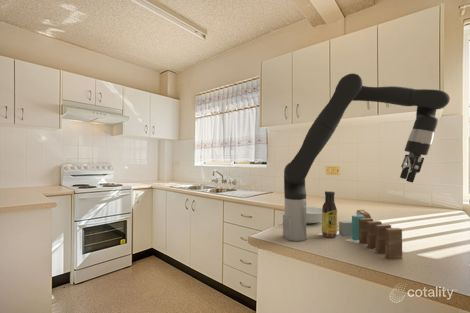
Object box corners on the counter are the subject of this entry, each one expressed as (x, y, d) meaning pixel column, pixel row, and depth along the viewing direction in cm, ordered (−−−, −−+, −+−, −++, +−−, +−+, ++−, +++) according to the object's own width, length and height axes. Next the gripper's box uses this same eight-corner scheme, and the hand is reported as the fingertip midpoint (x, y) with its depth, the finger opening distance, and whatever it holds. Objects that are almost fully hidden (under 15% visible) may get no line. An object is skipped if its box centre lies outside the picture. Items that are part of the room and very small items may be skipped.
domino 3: (381, 248, 87) (381, 222, 87) (369, 248, 87) (369, 222, 87) (378, 246, 89) (378, 220, 89) (367, 247, 88) (366, 221, 88)
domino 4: (391, 253, 83) (391, 225, 83) (379, 253, 82) (378, 225, 82) (388, 251, 84) (387, 224, 85) (375, 251, 84) (375, 224, 84)
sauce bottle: (330, 239, 97) (329, 192, 98) (318, 235, 103) (318, 191, 103) (340, 236, 100) (340, 191, 101) (328, 232, 106) (328, 190, 106)
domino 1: (365, 239, 96) (365, 216, 97) (354, 240, 96) (354, 216, 96) (362, 238, 98) (362, 215, 98) (352, 239, 97) (351, 215, 98)
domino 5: (402, 258, 78) (401, 229, 78) (389, 259, 78) (388, 229, 78) (398, 256, 80) (398, 227, 80) (385, 257, 79) (385, 228, 79)
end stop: (361, 235, 102) (361, 222, 102) (342, 236, 101) (342, 222, 101) (357, 233, 105) (357, 220, 105) (339, 234, 104) (338, 221, 104)
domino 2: (373, 243, 92) (372, 219, 92) (361, 244, 91) (361, 219, 91) (370, 242, 93) (370, 218, 94) (359, 242, 93) (358, 218, 93)
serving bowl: (331, 227, 114) (331, 214, 114) (288, 226, 117) (288, 212, 117) (322, 217, 135) (322, 205, 135) (286, 216, 138) (285, 204, 138)
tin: (373, 233, 106) (373, 214, 106) (365, 232, 106) (365, 214, 106) (362, 224, 120) (361, 208, 121) (355, 223, 121) (355, 208, 121)
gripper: (402, 139, 99) (391, 175, 102) (414, 139, 86) (400, 180, 89) (423, 143, 97) (410, 180, 99) (438, 144, 83) (423, 186, 86)
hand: (405, 180), depth 94 cm, fingers open, 8 cm apart
